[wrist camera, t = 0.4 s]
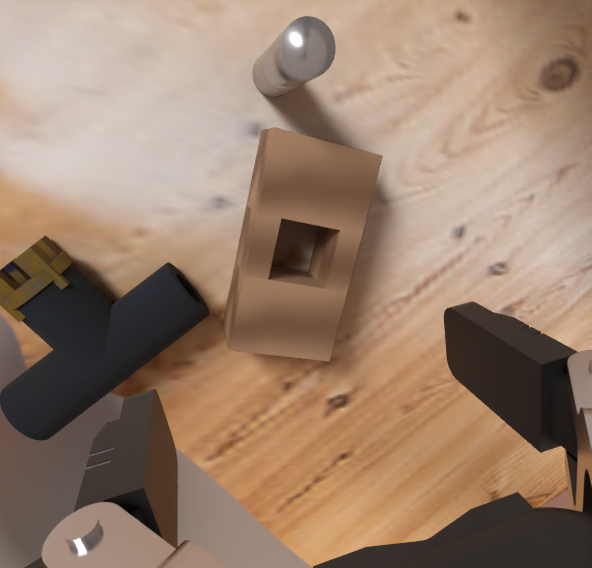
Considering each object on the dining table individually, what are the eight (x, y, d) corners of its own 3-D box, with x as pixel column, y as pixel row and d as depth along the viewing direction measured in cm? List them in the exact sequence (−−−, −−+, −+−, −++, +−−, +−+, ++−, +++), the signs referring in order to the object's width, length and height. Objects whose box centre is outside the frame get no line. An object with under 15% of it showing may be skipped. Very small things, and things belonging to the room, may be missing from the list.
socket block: (261, 130, 35) (274, 127, 30) (357, 154, 37) (382, 155, 33) (222, 325, 39) (229, 350, 34) (311, 337, 41) (329, 361, 36)
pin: (257, 47, 33) (288, 8, 24) (296, 59, 34) (341, 26, 25) (248, 90, 34) (276, 68, 25) (287, 101, 35) (328, 84, 26)
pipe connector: (-97, 343, 28) (97, 196, 29) (-58, 313, 33) (108, 188, 34) (45, 454, 33) (212, 325, 33) (61, 413, 38) (207, 301, 38)
